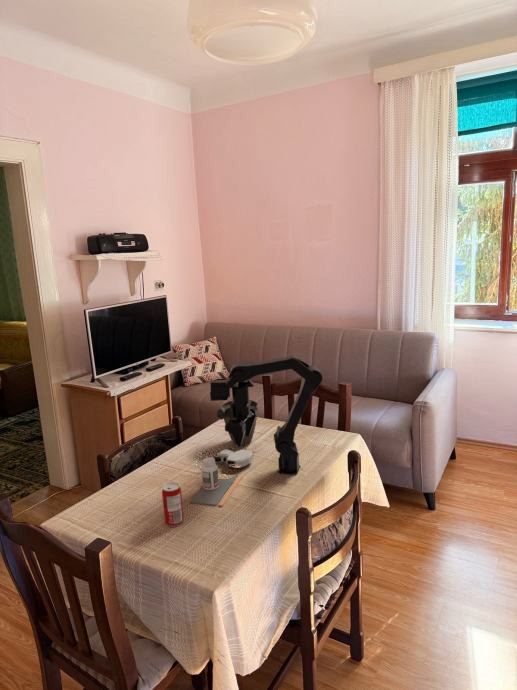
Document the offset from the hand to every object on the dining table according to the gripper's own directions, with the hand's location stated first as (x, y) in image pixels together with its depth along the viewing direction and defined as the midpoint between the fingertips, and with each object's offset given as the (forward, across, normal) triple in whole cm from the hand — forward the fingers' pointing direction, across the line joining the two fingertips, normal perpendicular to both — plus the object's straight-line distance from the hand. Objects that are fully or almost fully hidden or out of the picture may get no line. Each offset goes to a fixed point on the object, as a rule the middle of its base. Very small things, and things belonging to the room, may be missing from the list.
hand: (243, 441), depth 172 cm
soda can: (+12, +34, -11) cm, 38 cm away
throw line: (+12, +13, 0) cm, 18 cm away
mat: (+12, +13, -6) cm, 19 cm away
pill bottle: (+12, +13, -8) cm, 19 cm away
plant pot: (+12, -25, -10) cm, 30 cm away
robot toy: (+12, -6, -7) cm, 15 cm away
